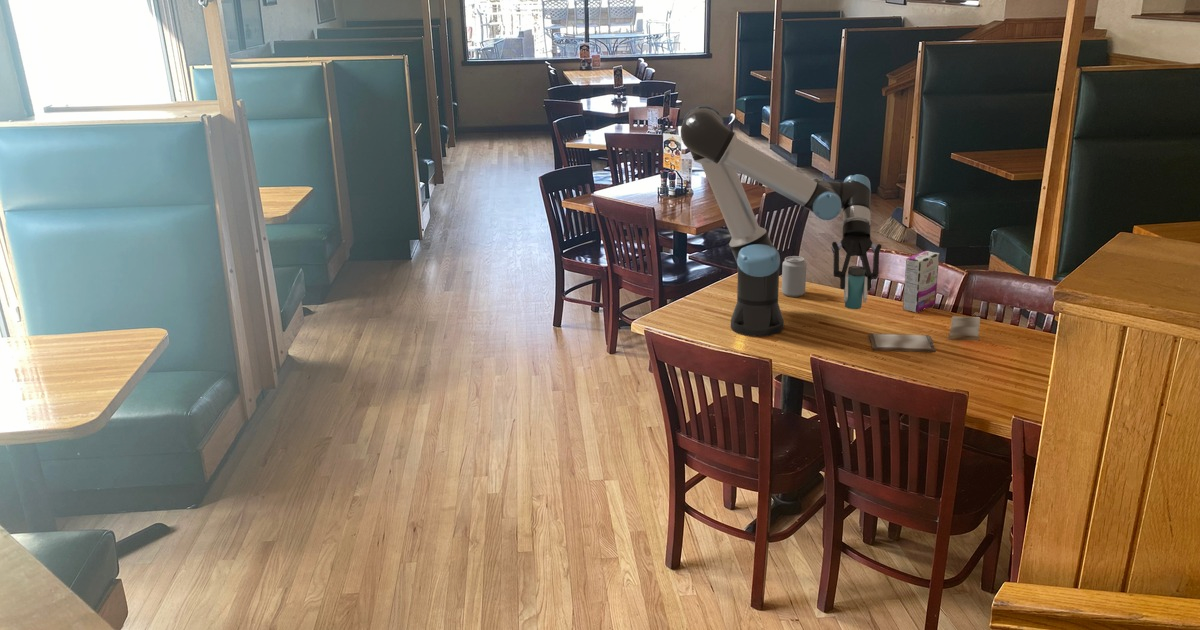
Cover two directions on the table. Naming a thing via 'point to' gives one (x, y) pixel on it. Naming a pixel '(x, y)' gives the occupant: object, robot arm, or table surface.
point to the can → (794, 276)
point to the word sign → (965, 328)
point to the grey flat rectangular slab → (902, 342)
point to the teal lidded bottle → (855, 287)
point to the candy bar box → (920, 281)
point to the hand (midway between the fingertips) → (855, 299)
